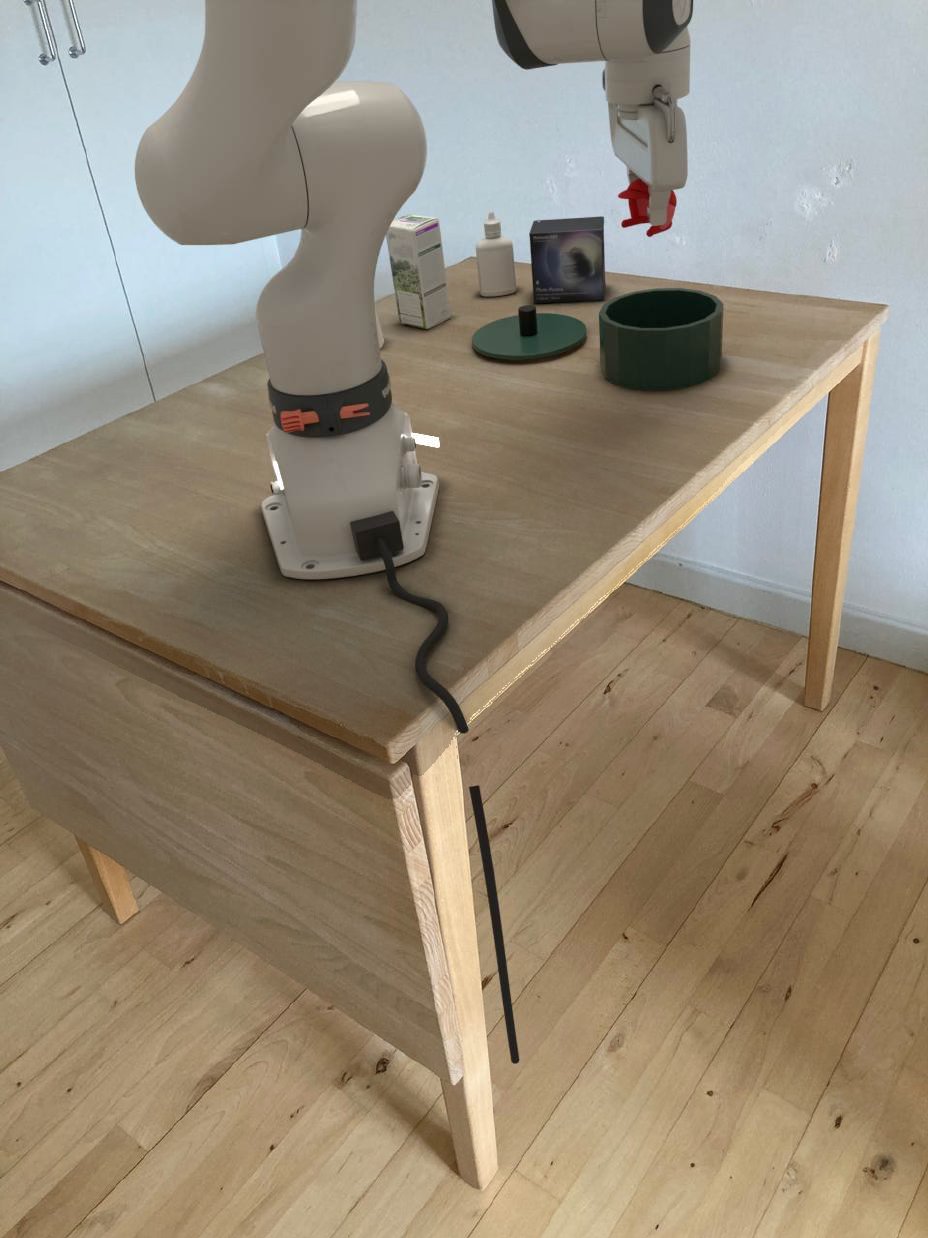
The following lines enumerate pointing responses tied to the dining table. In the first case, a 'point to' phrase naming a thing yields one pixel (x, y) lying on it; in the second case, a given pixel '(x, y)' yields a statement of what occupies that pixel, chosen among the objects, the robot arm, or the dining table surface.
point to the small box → (568, 259)
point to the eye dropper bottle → (495, 261)
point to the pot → (661, 338)
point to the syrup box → (418, 271)
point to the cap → (645, 207)
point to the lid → (529, 335)
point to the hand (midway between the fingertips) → (647, 214)
